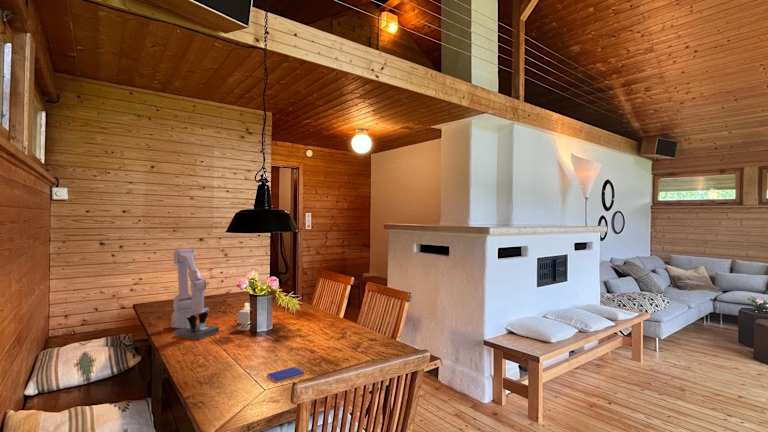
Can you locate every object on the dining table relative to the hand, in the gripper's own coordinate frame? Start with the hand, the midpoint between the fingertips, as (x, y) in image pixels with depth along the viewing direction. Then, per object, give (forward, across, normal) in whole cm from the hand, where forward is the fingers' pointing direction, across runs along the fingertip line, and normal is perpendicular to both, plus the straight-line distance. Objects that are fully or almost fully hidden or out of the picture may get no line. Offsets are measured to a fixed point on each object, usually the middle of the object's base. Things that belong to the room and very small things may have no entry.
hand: (197, 327), depth 210 cm
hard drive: (+4, -29, -73) cm, 79 cm away
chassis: (+3, 0, 0) cm, 3 cm away
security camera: (+4, +18, -16) cm, 25 cm away
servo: (+3, 0, 0) cm, 3 cm away
